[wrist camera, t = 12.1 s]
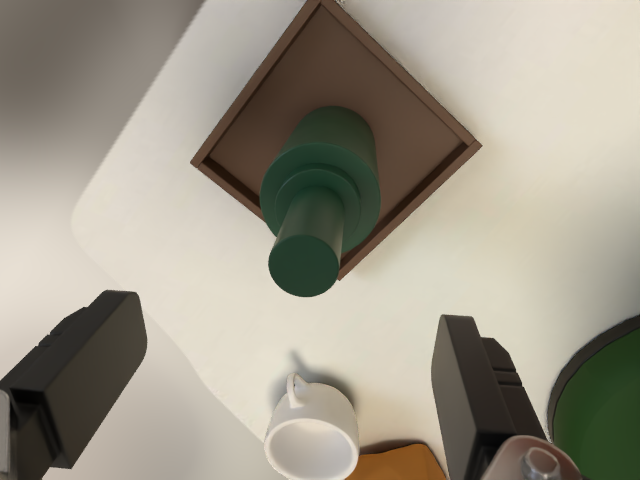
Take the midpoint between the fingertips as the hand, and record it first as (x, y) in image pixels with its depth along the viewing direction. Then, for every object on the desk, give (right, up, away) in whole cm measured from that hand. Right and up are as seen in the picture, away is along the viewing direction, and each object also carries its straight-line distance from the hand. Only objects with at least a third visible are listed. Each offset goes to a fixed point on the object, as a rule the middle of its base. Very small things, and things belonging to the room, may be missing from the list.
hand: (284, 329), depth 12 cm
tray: (+2, +9, +18) cm, 20 cm away
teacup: (0, -11, +28) cm, 30 cm away
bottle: (+2, +8, +17) cm, 19 cm away
